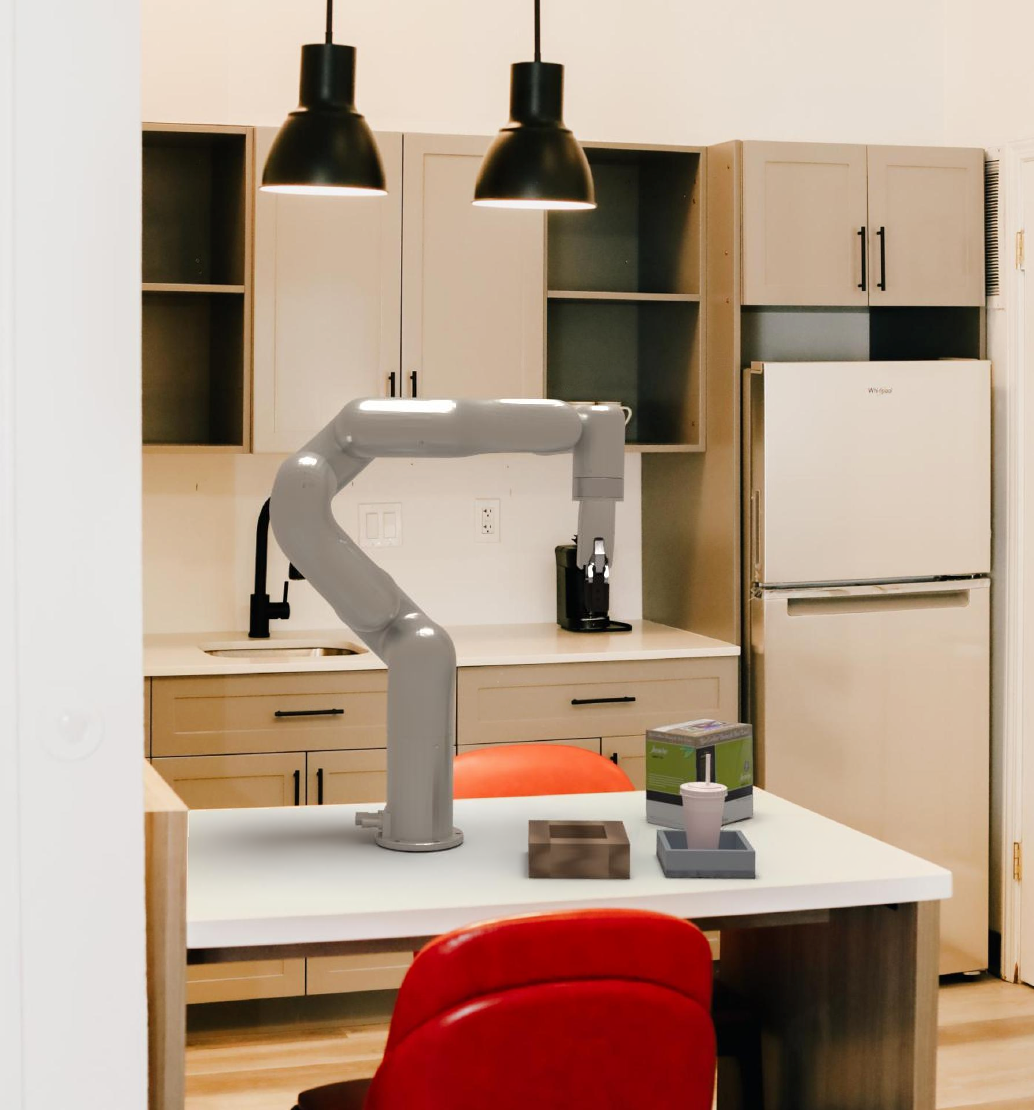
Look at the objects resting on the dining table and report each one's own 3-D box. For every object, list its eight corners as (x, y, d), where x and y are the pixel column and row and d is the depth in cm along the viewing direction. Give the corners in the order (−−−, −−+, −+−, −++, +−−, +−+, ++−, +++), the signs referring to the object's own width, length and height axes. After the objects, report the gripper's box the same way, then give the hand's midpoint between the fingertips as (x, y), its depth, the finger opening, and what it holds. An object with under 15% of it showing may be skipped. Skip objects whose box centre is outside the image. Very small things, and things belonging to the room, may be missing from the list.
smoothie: (725, 865, 176) (726, 759, 176) (676, 863, 178) (677, 757, 177) (728, 853, 183) (729, 751, 182) (680, 851, 184) (681, 749, 184)
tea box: (702, 807, 216) (703, 716, 216) (754, 818, 209) (756, 723, 209) (643, 822, 205) (644, 726, 205) (696, 834, 198) (697, 734, 198)
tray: (665, 877, 174) (665, 850, 174) (656, 854, 186) (656, 829, 186) (755, 878, 174) (755, 851, 174) (740, 855, 186) (740, 830, 186)
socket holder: (529, 877, 174) (529, 843, 174) (528, 852, 187) (528, 820, 187) (629, 878, 174) (630, 844, 174) (621, 853, 187) (622, 820, 187)
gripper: (570, 491, 204) (568, 604, 204) (573, 489, 187) (571, 613, 187) (620, 492, 204) (618, 605, 204) (628, 490, 187) (625, 614, 187)
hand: (596, 609), depth 196 cm, fingers open, 9 cm apart
